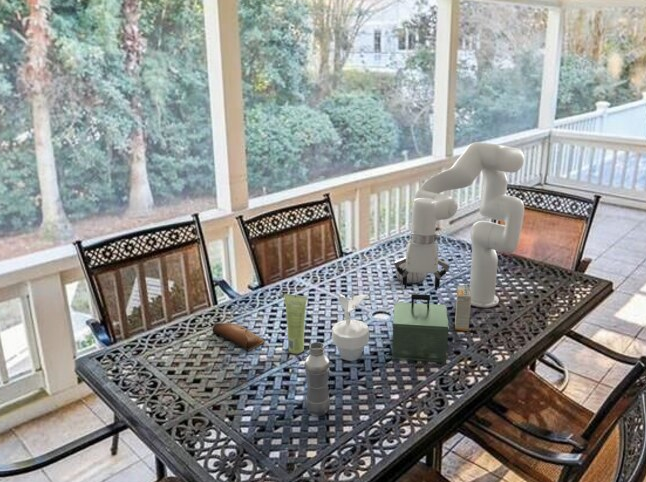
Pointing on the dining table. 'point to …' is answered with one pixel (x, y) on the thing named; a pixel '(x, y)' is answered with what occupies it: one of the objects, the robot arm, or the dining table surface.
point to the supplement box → (463, 308)
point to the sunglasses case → (238, 335)
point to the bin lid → (420, 314)
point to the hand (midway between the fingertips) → (420, 288)
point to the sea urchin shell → (411, 275)
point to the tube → (295, 322)
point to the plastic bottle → (317, 380)
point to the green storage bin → (420, 344)
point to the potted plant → (350, 330)
